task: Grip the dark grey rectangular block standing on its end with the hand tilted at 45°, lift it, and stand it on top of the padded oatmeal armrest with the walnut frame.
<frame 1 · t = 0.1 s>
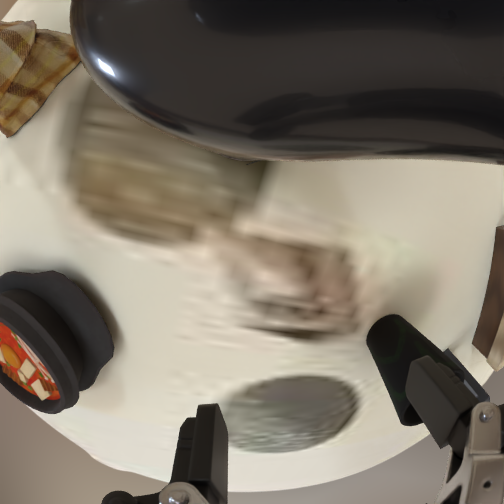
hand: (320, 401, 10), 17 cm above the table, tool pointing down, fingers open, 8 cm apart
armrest: (502, 284, 30), on the table
casserole: (45, 330, 28), on the table
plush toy: (33, 71, 18), on the table
dark grey rectangular block: (436, 364, 33), on the table
cup: (385, 332, 30), on the table
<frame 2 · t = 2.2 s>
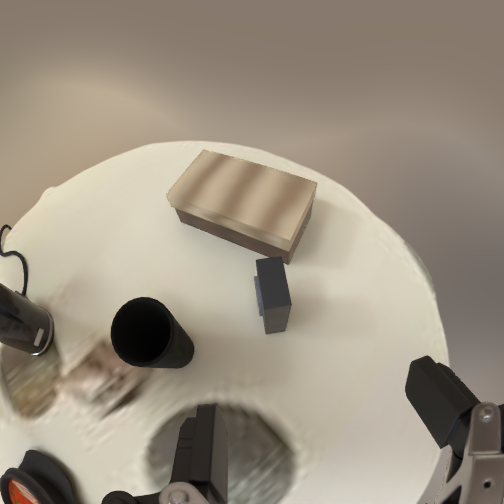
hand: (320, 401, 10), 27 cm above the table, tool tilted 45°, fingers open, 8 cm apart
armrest: (244, 218, 47), on the table
dark grey rectangular block: (272, 313, 39), on the table
cup: (175, 349, 37), on the table
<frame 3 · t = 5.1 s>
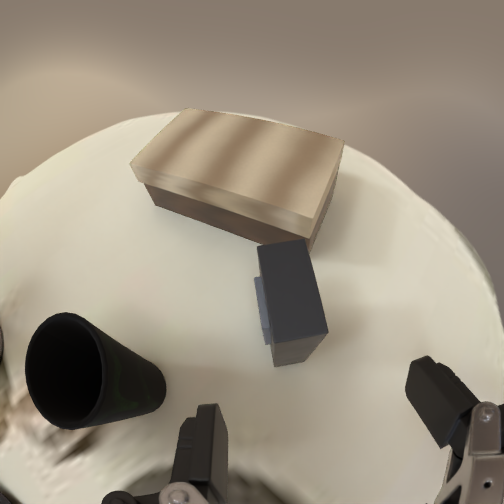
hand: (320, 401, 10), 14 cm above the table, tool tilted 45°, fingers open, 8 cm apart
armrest: (241, 197, 33), on the table
dark grey rectangular block: (284, 335, 25), on the table
cup: (141, 386, 23), on the table
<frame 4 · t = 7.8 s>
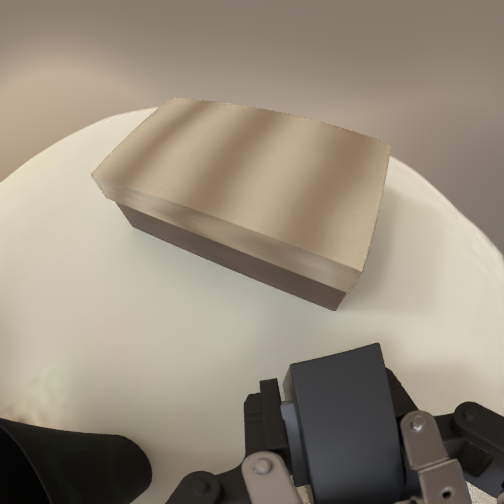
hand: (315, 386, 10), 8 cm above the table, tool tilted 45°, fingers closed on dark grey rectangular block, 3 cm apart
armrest: (245, 218, 25), on the table
dark grey rectangular block: (309, 415, 16), on the table, touching gripper
cup: (121, 465, 15), on the table
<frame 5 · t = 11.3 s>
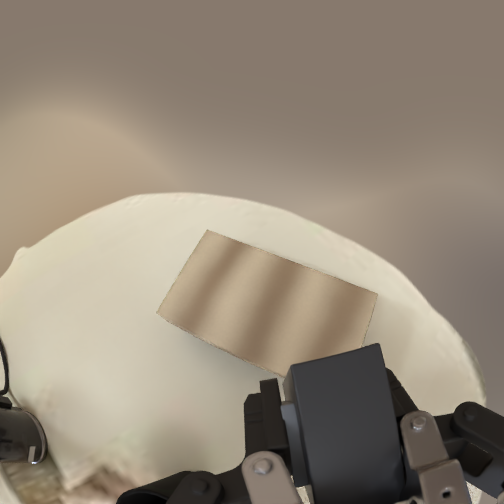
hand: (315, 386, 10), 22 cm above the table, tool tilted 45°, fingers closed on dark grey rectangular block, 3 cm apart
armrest: (269, 326, 34), on the table
dark grey rectangular block: (308, 416, 16), point 14 cm above the table, touching gripper
cup: (191, 489, 24), on the table
when the fingers open (16 cm above the table, at t = 14.8 s): dark grey rectangular block stays where it is, resting on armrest.
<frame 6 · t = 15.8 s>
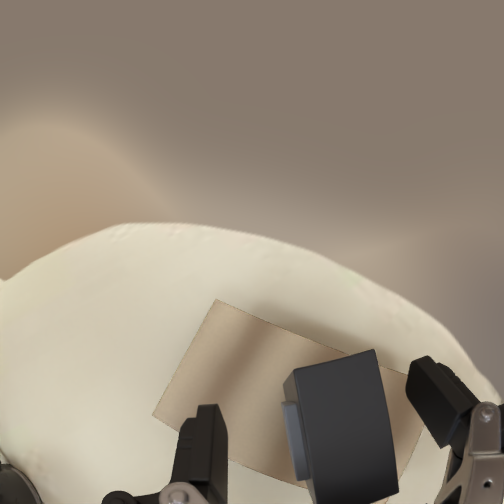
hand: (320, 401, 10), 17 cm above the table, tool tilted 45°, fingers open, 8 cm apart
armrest: (295, 409, 24), on the table
dark grey rectangular block: (308, 415, 17), point 8 cm above the table, touching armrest
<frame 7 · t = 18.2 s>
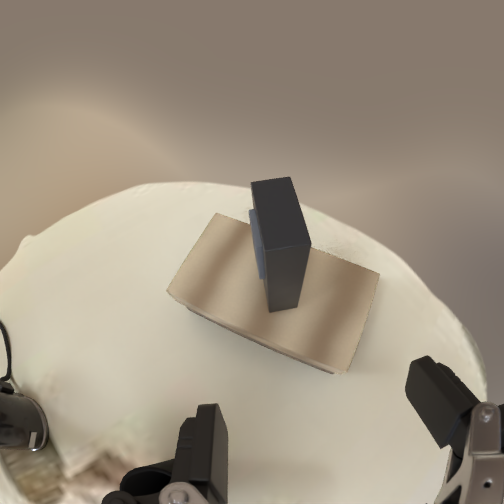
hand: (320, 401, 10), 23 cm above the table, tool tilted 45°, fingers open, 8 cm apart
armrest: (274, 308, 35), on the table
dark grey rectangular block: (278, 284, 28), point 8 cm above the table, touching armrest
cup: (195, 473, 25), on the table
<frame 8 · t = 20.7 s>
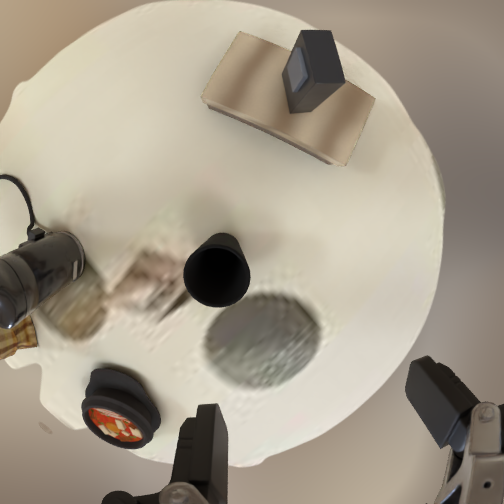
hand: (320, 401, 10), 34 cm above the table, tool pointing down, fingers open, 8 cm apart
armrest: (283, 106, 38), on the table
casserole: (124, 403, 51), on the table
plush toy: (18, 318, 45), on the table
dark grey rectangular block: (296, 92, 30), point 8 cm above the table, touching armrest
cup: (222, 250, 43), on the table
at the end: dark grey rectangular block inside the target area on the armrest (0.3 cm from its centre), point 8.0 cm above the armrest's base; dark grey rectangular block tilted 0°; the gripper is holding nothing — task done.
